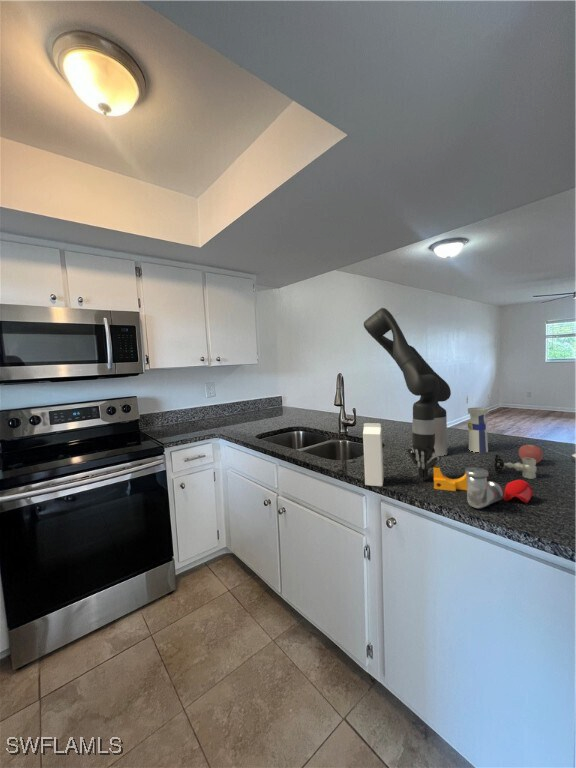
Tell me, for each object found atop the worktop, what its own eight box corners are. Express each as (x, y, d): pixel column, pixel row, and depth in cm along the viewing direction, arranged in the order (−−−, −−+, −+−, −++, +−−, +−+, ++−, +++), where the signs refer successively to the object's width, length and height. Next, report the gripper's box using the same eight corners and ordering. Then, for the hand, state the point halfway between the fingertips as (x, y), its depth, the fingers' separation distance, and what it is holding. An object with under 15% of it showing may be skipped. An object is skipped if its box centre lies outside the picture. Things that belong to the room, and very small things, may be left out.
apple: (515, 459, 128) (515, 440, 127) (537, 460, 125) (537, 441, 125) (522, 466, 121) (522, 445, 120) (545, 467, 118) (546, 446, 118)
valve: (537, 475, 112) (497, 468, 120) (537, 457, 111) (497, 452, 119) (535, 481, 107) (494, 474, 115) (535, 462, 106) (494, 456, 114)
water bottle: (474, 454, 138) (473, 398, 136) (464, 448, 146) (463, 395, 144) (493, 453, 137) (492, 396, 136) (481, 447, 146) (481, 394, 144)
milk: (367, 479, 118) (364, 421, 116) (383, 480, 115) (381, 421, 114) (365, 485, 112) (362, 424, 110) (382, 486, 110) (380, 425, 108)
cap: (523, 484, 98) (504, 474, 99) (538, 485, 92) (518, 474, 93) (514, 507, 96) (496, 497, 97) (529, 510, 90) (509, 499, 91)
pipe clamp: (434, 488, 106) (433, 470, 105) (433, 483, 110) (433, 465, 109) (475, 493, 101) (474, 473, 100) (473, 487, 104) (473, 469, 104)
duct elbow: (481, 514, 88) (480, 476, 87) (461, 506, 93) (460, 470, 92) (503, 503, 93) (503, 467, 92) (483, 496, 98) (483, 462, 97)
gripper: (401, 428, 115) (401, 474, 117) (432, 436, 103) (432, 487, 105) (415, 425, 118) (415, 469, 120) (447, 433, 107) (446, 481, 108)
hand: (423, 477), depth 113 cm, fingers closed
